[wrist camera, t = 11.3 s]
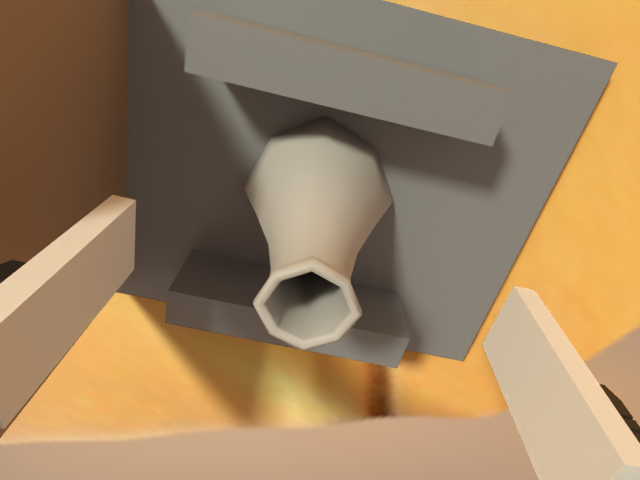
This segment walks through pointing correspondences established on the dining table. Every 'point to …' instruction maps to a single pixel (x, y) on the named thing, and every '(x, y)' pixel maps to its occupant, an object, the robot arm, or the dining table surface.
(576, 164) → the dining table surface
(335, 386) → the dining table surface
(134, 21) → the shaker holder
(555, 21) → the dining table surface
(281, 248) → the flask
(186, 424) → the dining table surface
